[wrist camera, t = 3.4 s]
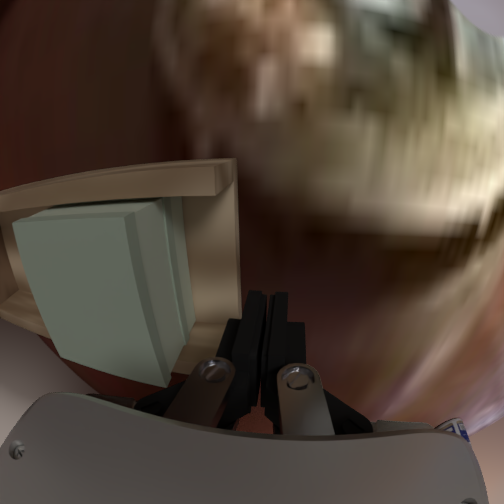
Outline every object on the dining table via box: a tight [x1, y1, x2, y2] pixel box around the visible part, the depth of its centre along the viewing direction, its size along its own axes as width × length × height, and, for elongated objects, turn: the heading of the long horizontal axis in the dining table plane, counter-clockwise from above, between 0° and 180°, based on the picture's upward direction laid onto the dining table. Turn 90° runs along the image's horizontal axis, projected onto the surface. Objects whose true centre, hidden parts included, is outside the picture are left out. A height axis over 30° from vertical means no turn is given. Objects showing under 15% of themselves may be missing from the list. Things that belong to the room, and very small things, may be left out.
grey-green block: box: [12, 196, 196, 388], centre depth 14 cm, size 9×8×6 cm
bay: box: [0, 158, 242, 375], centre depth 16 cm, size 12×26×6 cm, turn 90°
